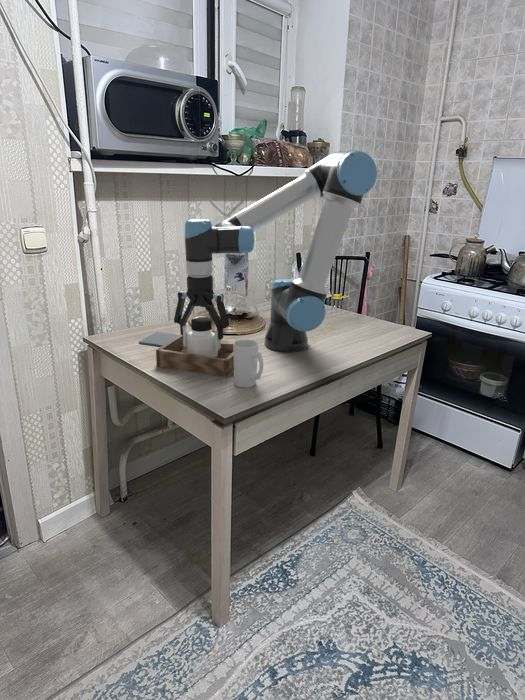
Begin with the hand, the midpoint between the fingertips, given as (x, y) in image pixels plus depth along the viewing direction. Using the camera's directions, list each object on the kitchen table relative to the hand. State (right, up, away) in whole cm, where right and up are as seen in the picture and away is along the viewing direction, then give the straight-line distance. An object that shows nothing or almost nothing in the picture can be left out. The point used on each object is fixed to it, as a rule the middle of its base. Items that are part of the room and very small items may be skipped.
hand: (202, 347), depth 145 cm
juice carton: (+7, +15, +57) cm, 59 cm away
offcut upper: (+6, -1, +5) cm, 8 cm away
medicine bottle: (0, -3, +1) cm, 3 cm away
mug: (+15, -11, -11) cm, 21 cm away
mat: (-15, +2, +21) cm, 26 cm away
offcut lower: (+6, -4, +6) cm, 10 cm away
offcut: (-3, -2, +9) cm, 10 cm away
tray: (0, -5, +4) cm, 6 cm away
